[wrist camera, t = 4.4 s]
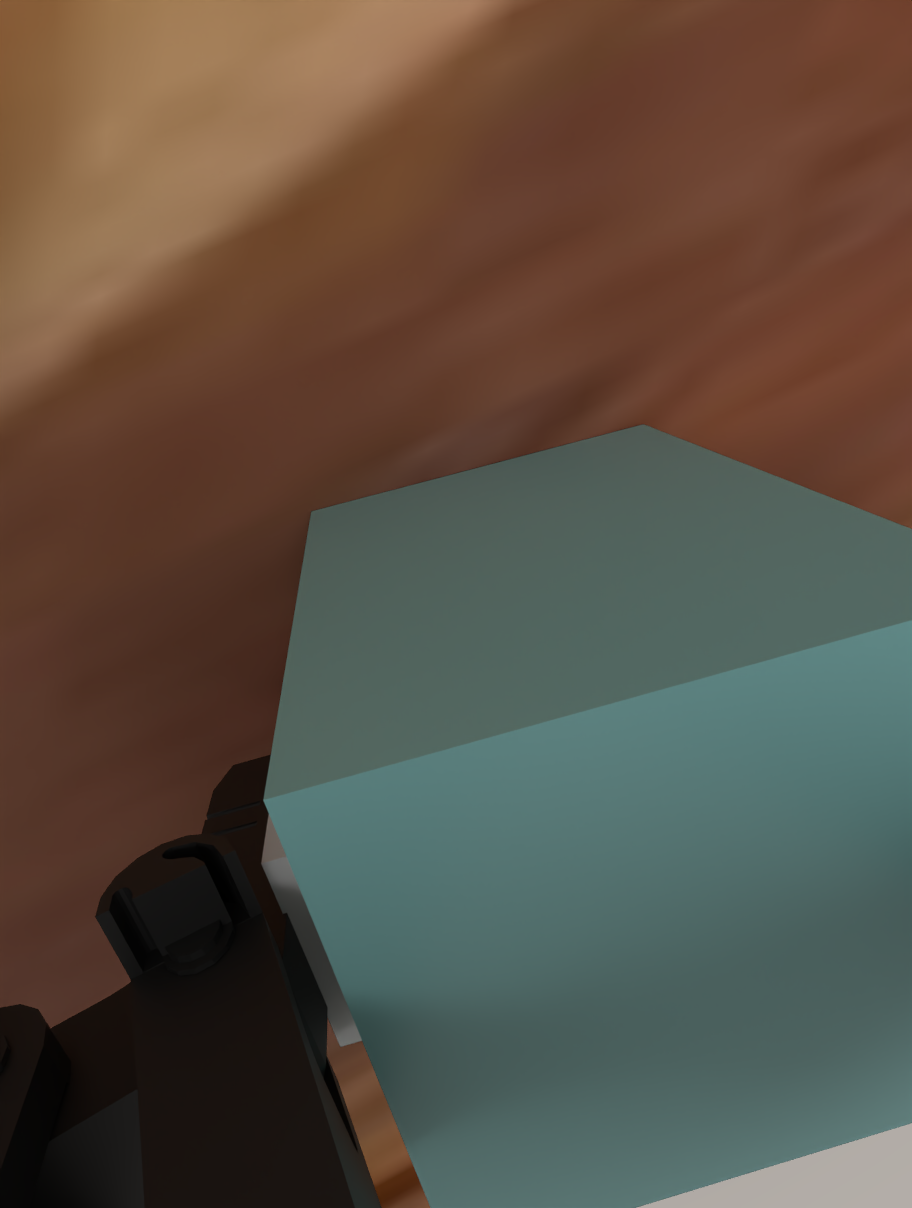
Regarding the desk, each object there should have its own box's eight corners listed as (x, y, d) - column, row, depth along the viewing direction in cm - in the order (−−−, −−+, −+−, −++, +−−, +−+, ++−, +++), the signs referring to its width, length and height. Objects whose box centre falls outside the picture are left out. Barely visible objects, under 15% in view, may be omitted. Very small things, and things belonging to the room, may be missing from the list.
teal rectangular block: (399, 788, 15) (454, 1263, 8) (310, 511, 13) (262, 800, 5) (680, 710, 15) (1001, 1095, 8) (643, 424, 13) (1049, 582, 6)
